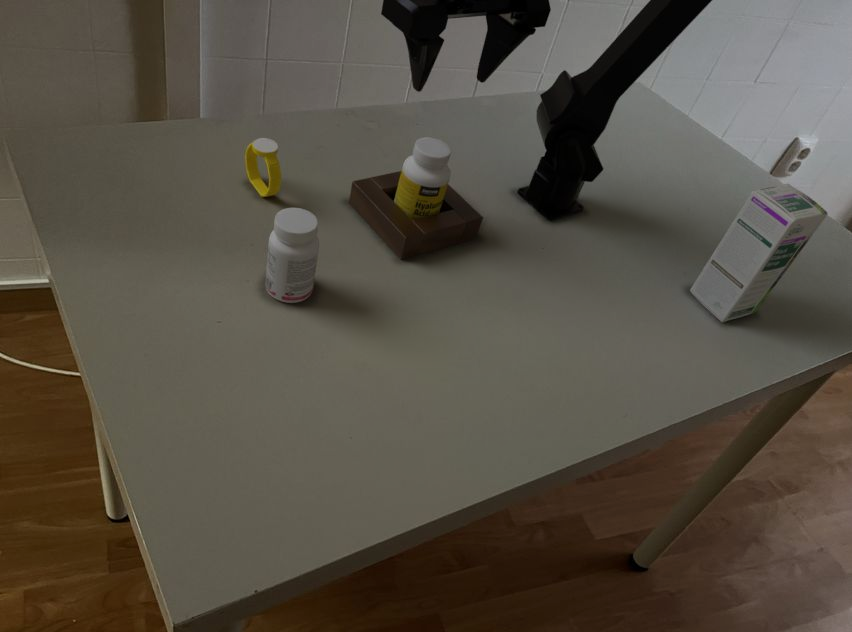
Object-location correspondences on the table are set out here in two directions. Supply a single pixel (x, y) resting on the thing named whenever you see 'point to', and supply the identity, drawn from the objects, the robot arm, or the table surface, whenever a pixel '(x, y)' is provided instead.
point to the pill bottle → (292, 255)
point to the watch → (268, 151)
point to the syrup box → (757, 251)
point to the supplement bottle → (424, 179)
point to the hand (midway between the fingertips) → (449, 85)
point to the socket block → (418, 234)
